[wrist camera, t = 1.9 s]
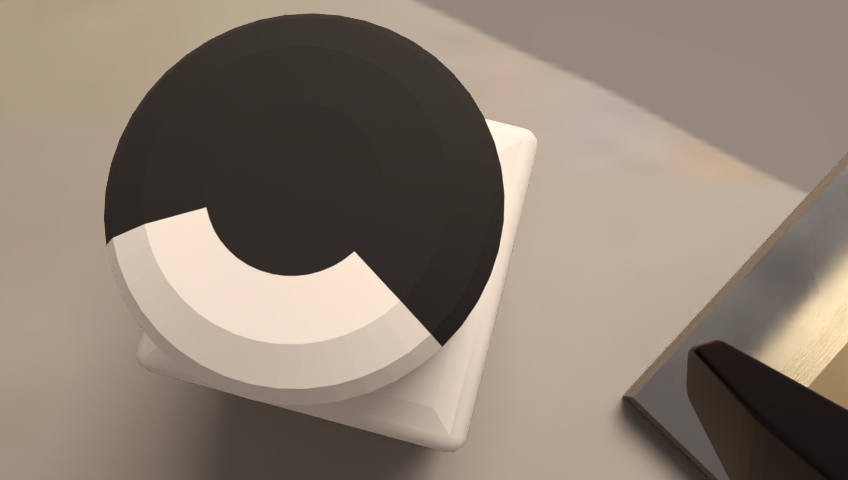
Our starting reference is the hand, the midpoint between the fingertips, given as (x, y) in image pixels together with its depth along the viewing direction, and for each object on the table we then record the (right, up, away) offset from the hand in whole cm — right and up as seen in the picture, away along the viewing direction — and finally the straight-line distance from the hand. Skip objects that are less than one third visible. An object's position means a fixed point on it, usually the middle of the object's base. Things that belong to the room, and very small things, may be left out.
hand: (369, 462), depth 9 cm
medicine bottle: (-1, +2, +12) cm, 13 cm away
